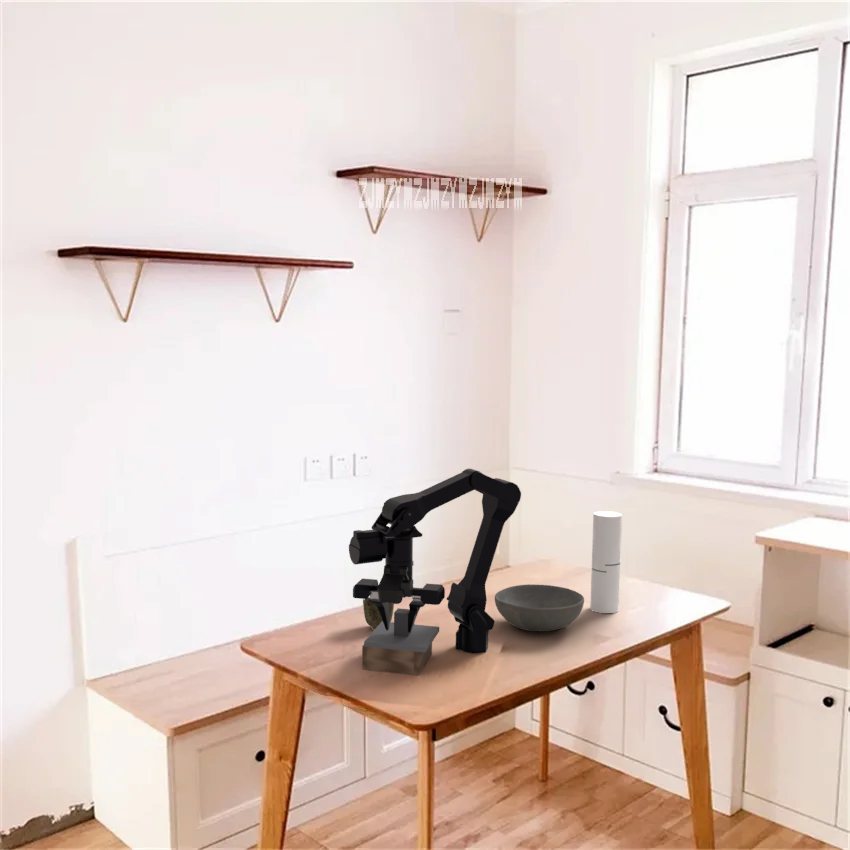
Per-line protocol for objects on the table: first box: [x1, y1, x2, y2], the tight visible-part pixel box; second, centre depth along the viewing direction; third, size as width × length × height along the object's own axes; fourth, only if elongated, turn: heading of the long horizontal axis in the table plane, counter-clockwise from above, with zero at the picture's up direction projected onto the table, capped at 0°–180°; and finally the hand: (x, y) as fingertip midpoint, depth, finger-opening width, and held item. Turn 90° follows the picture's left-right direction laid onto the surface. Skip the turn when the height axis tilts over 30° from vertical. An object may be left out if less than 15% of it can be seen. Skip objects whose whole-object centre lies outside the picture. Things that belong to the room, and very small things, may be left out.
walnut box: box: [361, 642, 433, 677], centre depth 188 cm, size 12×12×6 cm
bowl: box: [494, 583, 585, 632], centre depth 213 cm, size 21×21×8 cm
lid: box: [363, 607, 440, 652], centre depth 187 cm, size 13×13×6 cm
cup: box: [362, 596, 395, 631], centre depth 208 cm, size 8×7×8 cm
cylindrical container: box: [589, 510, 623, 614], centre depth 226 cm, size 7×7×25 cm
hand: (398, 630), depth 187 cm, fingers open, 4 cm apart
